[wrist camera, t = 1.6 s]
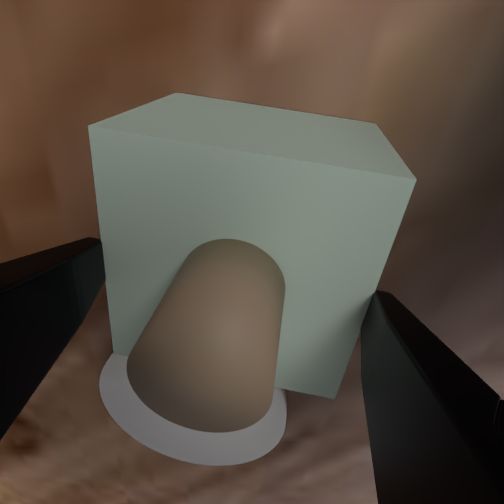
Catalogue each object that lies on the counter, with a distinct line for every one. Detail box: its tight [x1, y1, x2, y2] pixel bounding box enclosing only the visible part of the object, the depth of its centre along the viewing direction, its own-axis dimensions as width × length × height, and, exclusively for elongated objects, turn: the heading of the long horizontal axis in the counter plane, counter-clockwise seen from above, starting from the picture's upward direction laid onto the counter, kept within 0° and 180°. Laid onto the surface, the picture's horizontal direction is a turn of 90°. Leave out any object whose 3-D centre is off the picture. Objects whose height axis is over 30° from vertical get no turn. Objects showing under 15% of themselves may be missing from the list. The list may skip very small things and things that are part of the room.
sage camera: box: [88, 93, 417, 433], centre depth 10 cm, size 7×7×8 cm
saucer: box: [99, 353, 287, 466], centre depth 19 cm, size 10×10×1 cm
